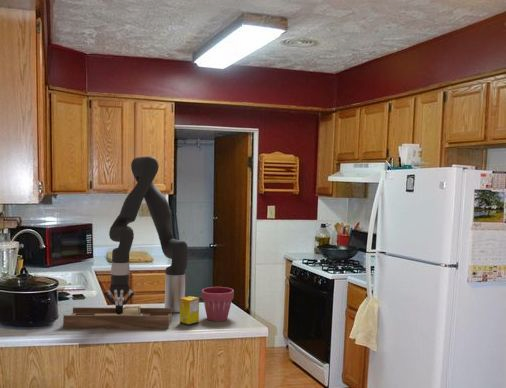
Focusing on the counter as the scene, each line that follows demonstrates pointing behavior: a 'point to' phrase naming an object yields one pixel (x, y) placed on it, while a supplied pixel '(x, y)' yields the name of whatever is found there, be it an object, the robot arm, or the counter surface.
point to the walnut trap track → (117, 318)
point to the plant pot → (217, 302)
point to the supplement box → (189, 310)
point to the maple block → (131, 311)
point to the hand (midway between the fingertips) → (119, 314)
